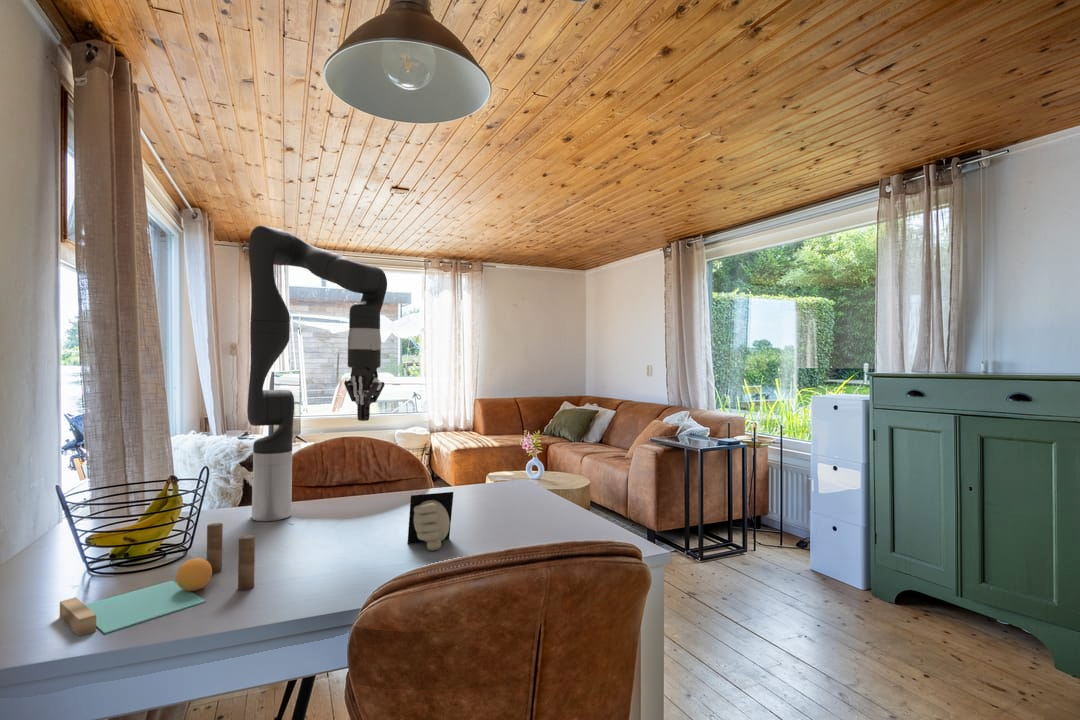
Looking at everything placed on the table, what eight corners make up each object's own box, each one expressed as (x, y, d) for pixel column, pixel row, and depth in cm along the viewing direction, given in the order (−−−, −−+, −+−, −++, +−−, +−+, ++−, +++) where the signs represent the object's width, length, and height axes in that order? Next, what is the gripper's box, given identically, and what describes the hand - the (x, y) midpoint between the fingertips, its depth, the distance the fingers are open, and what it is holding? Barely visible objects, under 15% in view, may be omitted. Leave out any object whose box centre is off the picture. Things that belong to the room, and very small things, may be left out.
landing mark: (75, 608, 90) (75, 607, 90) (172, 581, 102) (172, 580, 102) (104, 634, 82) (104, 632, 82) (205, 601, 94) (205, 600, 94)
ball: (195, 586, 101) (164, 584, 97) (208, 556, 103) (178, 553, 99) (210, 595, 98) (179, 594, 94) (223, 564, 100) (192, 561, 95)
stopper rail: (59, 617, 87) (59, 601, 87) (75, 612, 89) (75, 597, 89) (79, 636, 81) (79, 619, 81) (96, 631, 83) (96, 614, 83)
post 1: (204, 571, 107) (204, 525, 107) (218, 567, 109) (218, 522, 109) (210, 574, 105) (210, 527, 105) (224, 570, 107) (225, 524, 107)
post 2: (235, 588, 99) (235, 538, 99) (249, 583, 101) (250, 534, 101) (242, 591, 98) (242, 541, 98) (256, 587, 100) (257, 537, 100)
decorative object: (456, 557, 122) (413, 563, 118) (446, 532, 131) (405, 537, 127) (461, 508, 119) (416, 512, 115) (450, 486, 128) (408, 489, 124)
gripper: (334, 347, 133) (333, 419, 132) (368, 347, 125) (367, 423, 125) (360, 348, 139) (359, 417, 139) (395, 348, 131) (394, 421, 131)
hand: (363, 420), depth 132 cm, fingers closed
